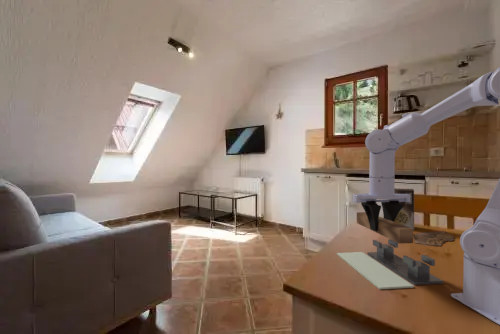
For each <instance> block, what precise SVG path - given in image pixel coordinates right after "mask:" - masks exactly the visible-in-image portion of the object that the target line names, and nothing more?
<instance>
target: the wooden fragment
mask: <svg viewBox="0 0 500 334" xmlns="http://www.w3.org/2000/svg"><path fill="white" fill-rule="evenodd" d="M455 239H456V236H454V235H453V234H451V233H448V232H447V231H444V230H438V231H424V232H414V233H413V241H414V244H415V245H421V246H431V247H442V245H443V244H444V243H446V242H452V241H455Z"/></svg>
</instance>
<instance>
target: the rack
mask: <svg viewBox="0 0 500 334" xmlns="http://www.w3.org/2000/svg"><path fill="white" fill-rule="evenodd" d="M387 241H388V242H387V243H382V242H381V241H378V240H377V239H372V246H374V247H376V251H372V252H370V251H369V252H368V251H367V253H366V255H368V256H369V257H371V258H372V259H374V260H375V261H377V262H378V263H380V264H381V265H383V266H385V267H386V268H388V269H389V270H391V271H392V272H394V273H395V274H397V275H398V276H400V277H401V278H403V279H404V280H406V281H407V282H409V283H411V284H412V285H414V286H420V285H421V286H423V285H438V284H444V280H443V279H441V278H439V277H437V276H436V275H433V273H432V274H431V273H430V271H431V270H430V268H431V267H434V266H436V260H435V259H434V258H432V257H430V256H428V255H426V254H421V255H420V258H421V261H420V260H416V259H413V258H412V257H409V256H408V255H403V256H402V257H400V256H398V255H397V254H394V253H395V252H394V249H396V248H399V243H397V242H395V241H393V240H391V239H389V238H387ZM430 266H431V267H430Z"/></svg>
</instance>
